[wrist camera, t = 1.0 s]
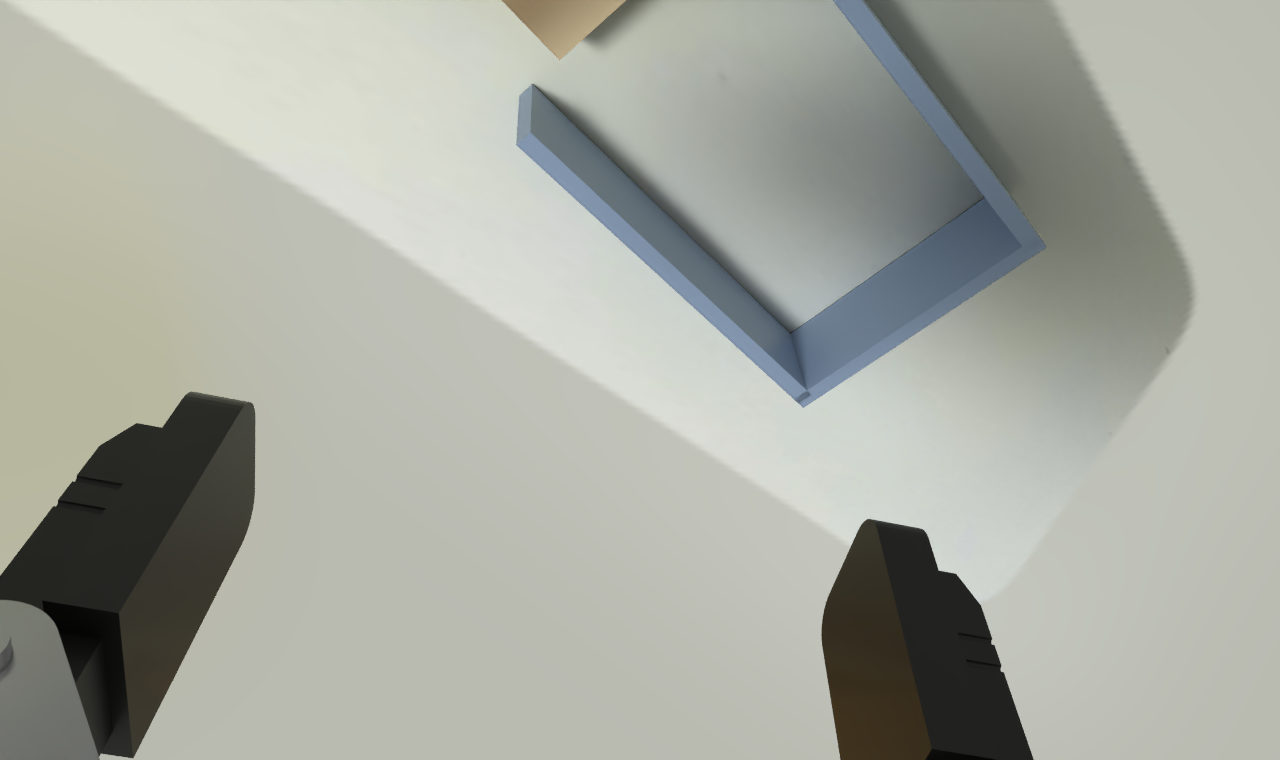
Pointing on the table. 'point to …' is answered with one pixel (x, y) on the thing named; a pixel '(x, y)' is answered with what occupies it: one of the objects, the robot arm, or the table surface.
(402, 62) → the table surface
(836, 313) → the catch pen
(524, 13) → the light wood block
